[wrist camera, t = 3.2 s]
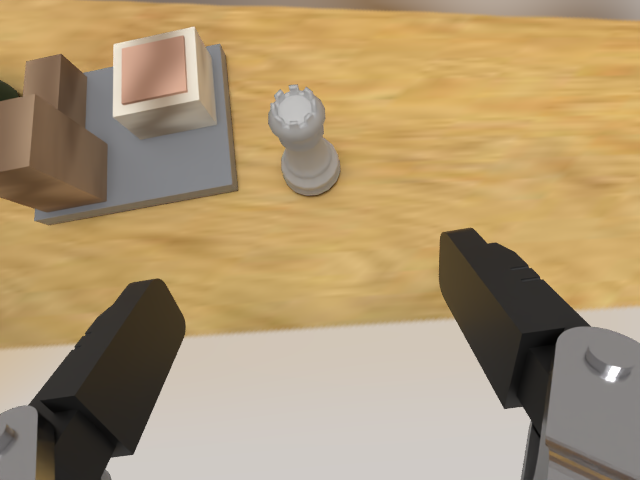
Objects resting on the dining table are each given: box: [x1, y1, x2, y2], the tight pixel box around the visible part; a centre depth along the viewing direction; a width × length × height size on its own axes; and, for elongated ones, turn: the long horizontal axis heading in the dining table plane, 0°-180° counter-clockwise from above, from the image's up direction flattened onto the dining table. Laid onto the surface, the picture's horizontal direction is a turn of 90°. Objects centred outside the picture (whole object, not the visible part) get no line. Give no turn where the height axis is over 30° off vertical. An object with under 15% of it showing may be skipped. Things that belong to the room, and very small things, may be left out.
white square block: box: [113, 27, 217, 140], centre depth 24 cm, size 6×6×3 cm
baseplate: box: [34, 44, 238, 225], centre depth 26 cm, size 16×13×1 cm
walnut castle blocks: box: [0, 54, 108, 213], centre depth 23 cm, size 5×12×6 cm, turn 9°
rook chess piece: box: [268, 84, 340, 196], centre depth 21 cm, size 4×4×8 cm
